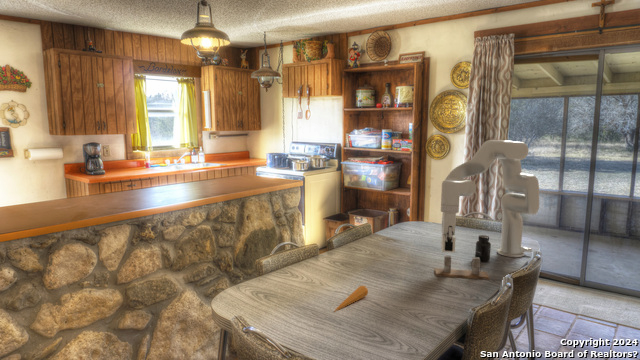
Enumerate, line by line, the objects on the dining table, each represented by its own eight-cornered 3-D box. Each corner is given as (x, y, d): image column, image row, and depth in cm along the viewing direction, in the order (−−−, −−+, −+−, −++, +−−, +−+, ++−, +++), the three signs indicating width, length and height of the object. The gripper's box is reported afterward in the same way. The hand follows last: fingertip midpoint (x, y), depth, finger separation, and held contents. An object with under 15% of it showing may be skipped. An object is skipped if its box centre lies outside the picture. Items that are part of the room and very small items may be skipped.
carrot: (362, 295, 160) (358, 284, 161) (371, 294, 157) (367, 283, 157) (331, 318, 146) (326, 306, 146) (339, 317, 142) (335, 305, 143)
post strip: (486, 273, 181) (486, 256, 180) (489, 279, 175) (490, 261, 173) (434, 270, 186) (435, 253, 185) (436, 275, 179) (436, 258, 178)
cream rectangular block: (441, 248, 183) (441, 234, 182) (453, 249, 182) (454, 234, 181) (442, 251, 178) (443, 237, 177) (454, 252, 177) (455, 237, 176)
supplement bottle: (474, 260, 198) (475, 237, 197) (475, 256, 204) (477, 233, 203) (489, 263, 195) (490, 238, 194) (490, 259, 201) (491, 235, 200)
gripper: (439, 204, 186) (437, 242, 189) (442, 211, 170) (440, 254, 172) (456, 205, 185) (454, 243, 187) (461, 212, 168) (459, 255, 171)
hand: (447, 248), depth 180 cm, fingers closed on cream rectangular block, 5 cm apart
